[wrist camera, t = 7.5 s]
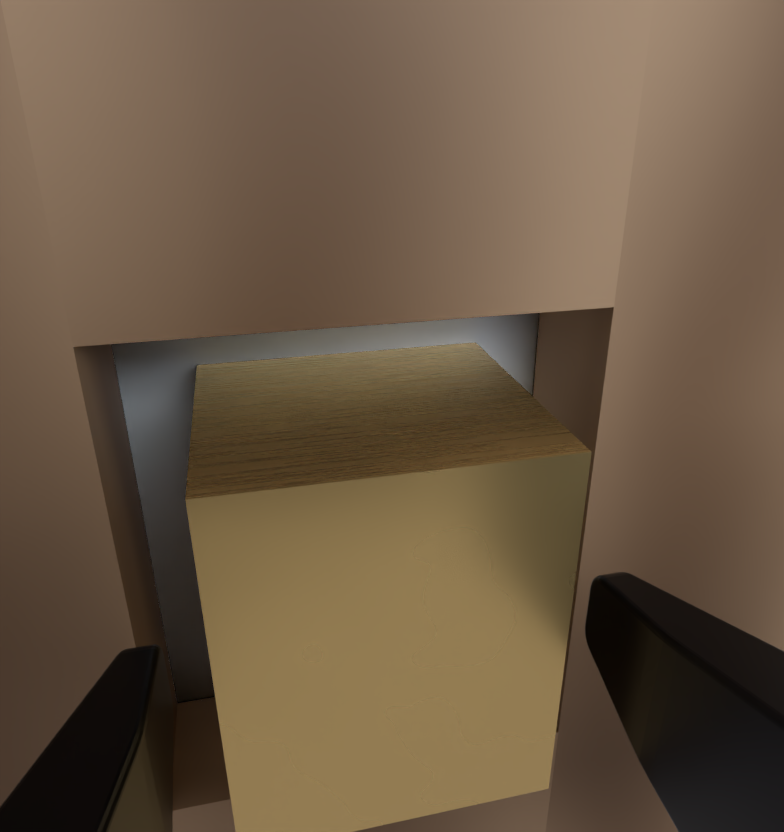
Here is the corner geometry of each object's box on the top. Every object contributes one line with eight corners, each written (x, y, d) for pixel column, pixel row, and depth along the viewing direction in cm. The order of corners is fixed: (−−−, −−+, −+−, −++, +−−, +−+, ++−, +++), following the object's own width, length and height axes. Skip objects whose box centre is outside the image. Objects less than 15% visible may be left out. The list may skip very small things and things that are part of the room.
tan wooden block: (467, 334, 11) (591, 452, 7) (456, 596, 13) (548, 788, 9) (198, 355, 10) (184, 500, 6) (233, 630, 12) (239, 856, 8)
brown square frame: (842, -6, 9) (990, -32, 8) (673, 738, 15) (733, 823, 13) (-414, -40, 7) (-650, -93, 5) (-29, 888, 12) (-70, 1020, 11)
